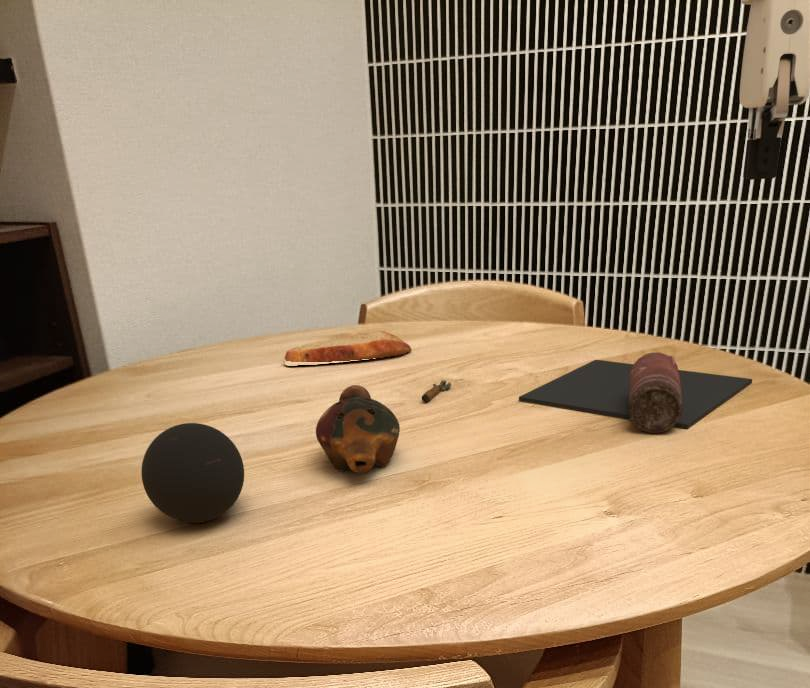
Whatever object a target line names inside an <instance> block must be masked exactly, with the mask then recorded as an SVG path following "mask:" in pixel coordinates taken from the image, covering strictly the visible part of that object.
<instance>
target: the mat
mask: <svg viewBox="0 0 810 688" xmlns="http://www.w3.org/2000/svg"><path fill="white" fill-rule="evenodd" d="M633 365H634V363H626V362H620V361H619V362H618V361H612V360H611V361H610V360H602V359H594V360H591V361H589V362H587V363H586V364H584V365H581V366H579V367H578V368H575V369H573V370H571V371H569V372H567V373H565V374H562V375H561V376H559V377H556V378H555V379H553V380H551V381H548V382H547V383H545V384H542V385H540V386H538V387H536V388H534V389H532V390H530V391H527V392H526V393H524V394H522V395H520V396H518V402H524V403H528V404H530V403H531V404H535V405H542V406H547V407H554V408H558V409H566V410H571V411H572V410H573V411H578V412H583V413H589V414H596V415H600V416H601V415H602V416H607V417H613V418H619V419H620V418H621V419H625V420H630V421H631V419H630V415H629V394H630V373H631V369H632V367H633ZM678 370H679V377H680V386H681V395H682V405H683V407H682V414H681V416H680V419H679V421H678V422H677V423H676V424H675V425H674V426H673V427H672V428H679V429H685V430H688V429H690V428H691V427H692V426H694V425H695V424H697V423H698V422H699V421H701V420H702V419H703V418H705V417H707V416H708V415H710V414H711V413H712V412H713V411H715V410H717V409H718V408H719V407H720V406H722V405H723V404H725V403H726V402H727V401H729V400H730V399H731V398H733V397H734V396H737V395H738V393H740V392H741V391H742V390H744V389H746V388H747V387H748V386H750V385H751V384H752V383H753V378H748V377H739V376H731V375H724V374H715V373H706V372H701V371H700V372H699V371H691V370H683V369H678ZM745 387H746V388H745Z"/></svg>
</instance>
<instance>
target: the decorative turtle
mask: <svg viewBox="0 0 810 688" xmlns="http://www.w3.org/2000/svg"><path fill="white" fill-rule="evenodd" d="M400 427H401V426H400V422H399V420H398V418H397V417H396V415H395V414H394V412H393V411H392V410H391V409H390V408H388V406H386V405H385V404H383V403H382V402H380V401H378V400H376V399H373V398H372V397H371V394H370V392H369V391H368V389H367V388H365V387H364V386H362V385H359V384H352V385H349V386H347V387H346V388H345V389H343V390H342V392H340V396H339V399H338V401H337V402H335V403H333V404H332V405H331V406H329V407H328V408H327V409H325V411H324V412H323V413H322V415H321V416H320V417H319V419H318V421H317V423H316V427H315V436H316V439H317V441H318V443H319V446H320V447H321V449H322V450H323V452H324V454H325V456H326V457H327V458H328V460H329V462H330V464H331V465H332V467H333V468H334V469H335V470H337V471H339V470H344V471H345V470H346V469H348V467H349V469H350V470H351V471H352V472H354V473H357V474H363V473H367V472H369V471H370V470H372V468H374V465H377V466H379V467H380V466H381V467H386V466H388V465H389V463H390V462H391V460H392V458H393V456H394V452H395V450H396V446H397V444H398V440H399V437H400V431H401V428H400Z"/></svg>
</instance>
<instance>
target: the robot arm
mask: <svg viewBox="0 0 810 688" xmlns="http://www.w3.org/2000/svg"><path fill="white" fill-rule="evenodd" d="M741 5H750V9H749V15H748V21H747V26H746V33H745V41H744V47H743V57H742V63H741V65H742V66H741V72H740V81H739V82H740V83H739V104H741V106H742V107H743V108H745V109H748V123H747V124H748V125H747V140H746V145H745V146H746V147H745V154H744V155H745V156H744V164H743V171H742V177H743V179H745V180H749V181H751V180H752V181H753V180H767V179H768V180H769V179H775V178H776V177H777V176H778V169H779V161H780V153H781V146H782V139H783V138H782V136H783V135H784V134H783V133H784V127H785V122H786V121H785V120H786V118H787V117H788V115H789V106H797V105H799V106H800V105H802V104H804V103H805V102H806V101H807V100H808V99H809V96H810V0H741ZM767 103H771V104H769V105H767Z"/></svg>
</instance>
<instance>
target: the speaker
mask: <svg viewBox="0 0 810 688" xmlns="http://www.w3.org/2000/svg"><path fill="white" fill-rule="evenodd" d="M243 461H244V460H243V458H242V456H241V453H240V451H239V449H238V447H237V446H236V444H235V443H234V442H233V441H232V440H231V438H230V437H229V436H227V434H225V433H223V432H222V431H221V430H219V429H218V428H215V427H213V426H211V425H207V424H204V423H198V422H185V423H180V424H176V425H173V426H171V427H168V428H167V429H165V430H163V431H162V432H161V433H159V434H157V436H156V437H155V438H154V439H153V440H152V441H151V442H150V444H149V445H148V447H147V448H146V450H145V453H144V455H143V458H142V463H141V480H142V486H143V489H144V491H145V494H146V495H147V497H148V499H149V501H150V502H151V503H152V505H154V507H155V508H156V509H157V510H158V511H160V512H161V513H162V514H164V515H165V516H167V517H168V518H171V519H173V520H176V521H178V522H182V523H188V524H189V523H190V524H199V522H201V523H205V521H206V522H209V520H210V521H213V520H215V519H217V518H219V517H221V516H222V515H224V514H226V512H228V511H229V510H230V509H231V507H233V506H234V505H235V504H236V502H237V500H238V498H239V497H240V495H241V492H242V490H243V487H244V483H245V465H244V462H243ZM212 519H213V520H212Z"/></svg>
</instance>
